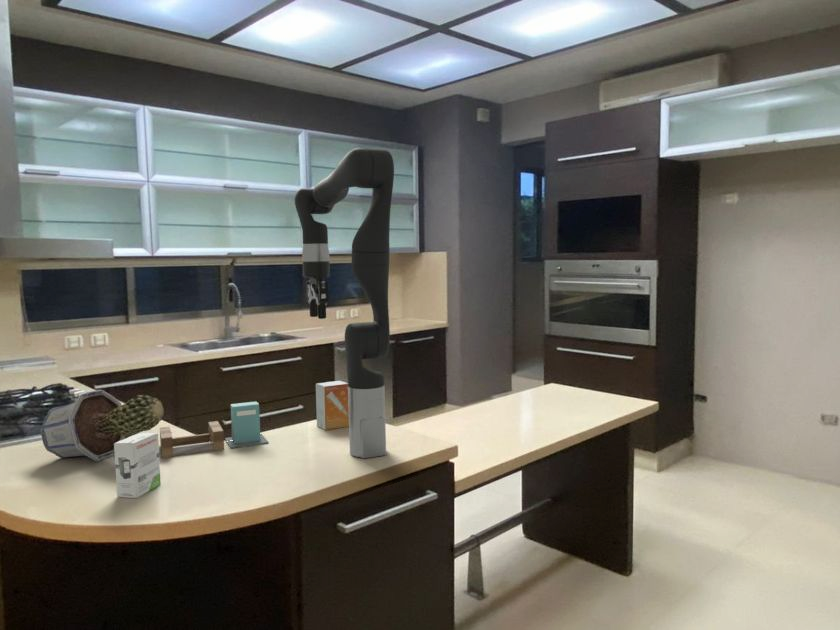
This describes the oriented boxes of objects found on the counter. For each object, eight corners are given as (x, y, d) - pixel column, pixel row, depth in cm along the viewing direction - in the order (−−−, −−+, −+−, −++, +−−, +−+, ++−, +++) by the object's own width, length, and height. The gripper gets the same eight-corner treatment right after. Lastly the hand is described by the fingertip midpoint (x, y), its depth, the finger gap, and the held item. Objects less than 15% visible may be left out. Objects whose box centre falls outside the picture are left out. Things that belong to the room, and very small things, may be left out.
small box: (325, 430, 179) (324, 386, 178) (316, 426, 184) (315, 383, 183) (350, 426, 183) (349, 383, 182) (340, 422, 189) (339, 380, 188)
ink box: (142, 483, 137) (139, 431, 136) (162, 484, 136) (159, 432, 135) (116, 497, 129) (112, 442, 128) (137, 498, 128) (133, 443, 127)
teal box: (260, 440, 169) (259, 404, 168) (234, 443, 166) (232, 407, 165) (257, 436, 172) (256, 401, 172) (232, 439, 170) (230, 404, 169)
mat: (268, 443, 167) (268, 441, 167) (230, 448, 163) (230, 447, 163) (261, 434, 176) (261, 433, 176) (225, 439, 172) (224, 438, 172)
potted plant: (22, 408, 151) (126, 380, 144) (77, 396, 168) (172, 371, 162) (38, 477, 150) (143, 453, 144) (92, 458, 168) (188, 436, 162)
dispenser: (224, 449, 162) (223, 430, 162) (162, 457, 156) (161, 438, 155) (218, 438, 173) (217, 420, 172) (160, 445, 167) (159, 427, 166)
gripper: (336, 259, 169) (338, 318, 170) (321, 260, 181) (323, 315, 183) (309, 260, 165) (311, 320, 167) (296, 261, 178) (298, 316, 179)
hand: (317, 317), depth 175 cm, fingers open, 8 cm apart
